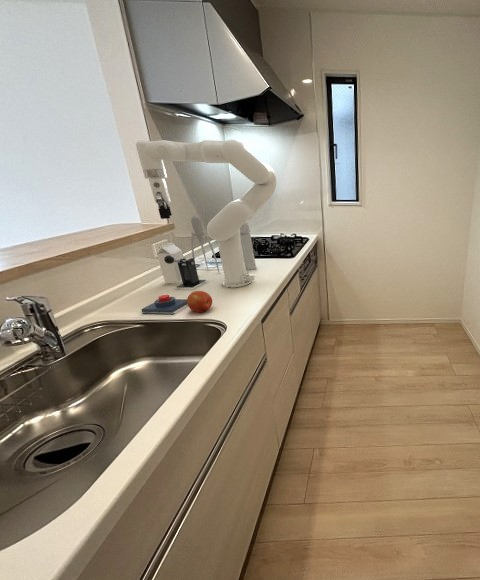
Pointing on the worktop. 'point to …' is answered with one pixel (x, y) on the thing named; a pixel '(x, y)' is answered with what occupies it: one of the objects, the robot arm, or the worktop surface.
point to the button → (164, 298)
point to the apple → (199, 301)
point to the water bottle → (247, 247)
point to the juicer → (200, 237)
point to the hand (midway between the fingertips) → (166, 217)
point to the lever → (173, 260)
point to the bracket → (189, 274)
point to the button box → (165, 306)
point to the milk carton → (170, 270)
